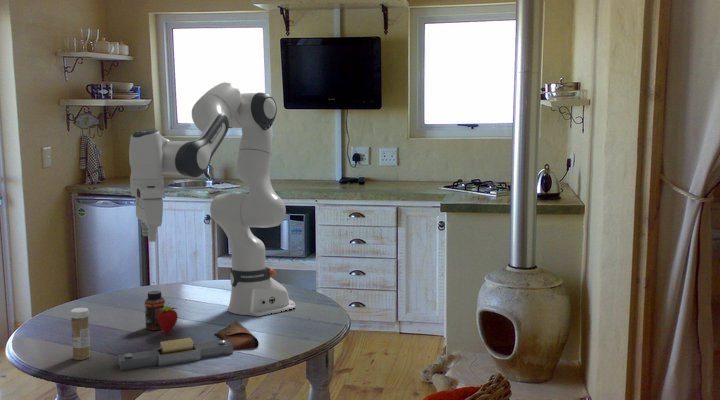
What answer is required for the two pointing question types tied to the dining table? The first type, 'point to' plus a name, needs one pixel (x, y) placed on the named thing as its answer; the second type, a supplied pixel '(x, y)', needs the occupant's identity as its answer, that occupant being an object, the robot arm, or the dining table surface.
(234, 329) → the sunglasses case
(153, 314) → the supplement bottle
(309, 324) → the dining table surface
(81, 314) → the sprinkles bottle
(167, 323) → the strawberry
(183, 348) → the khaki rectangular block
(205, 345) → the grey slotted link bar
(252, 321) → the dining table surface
